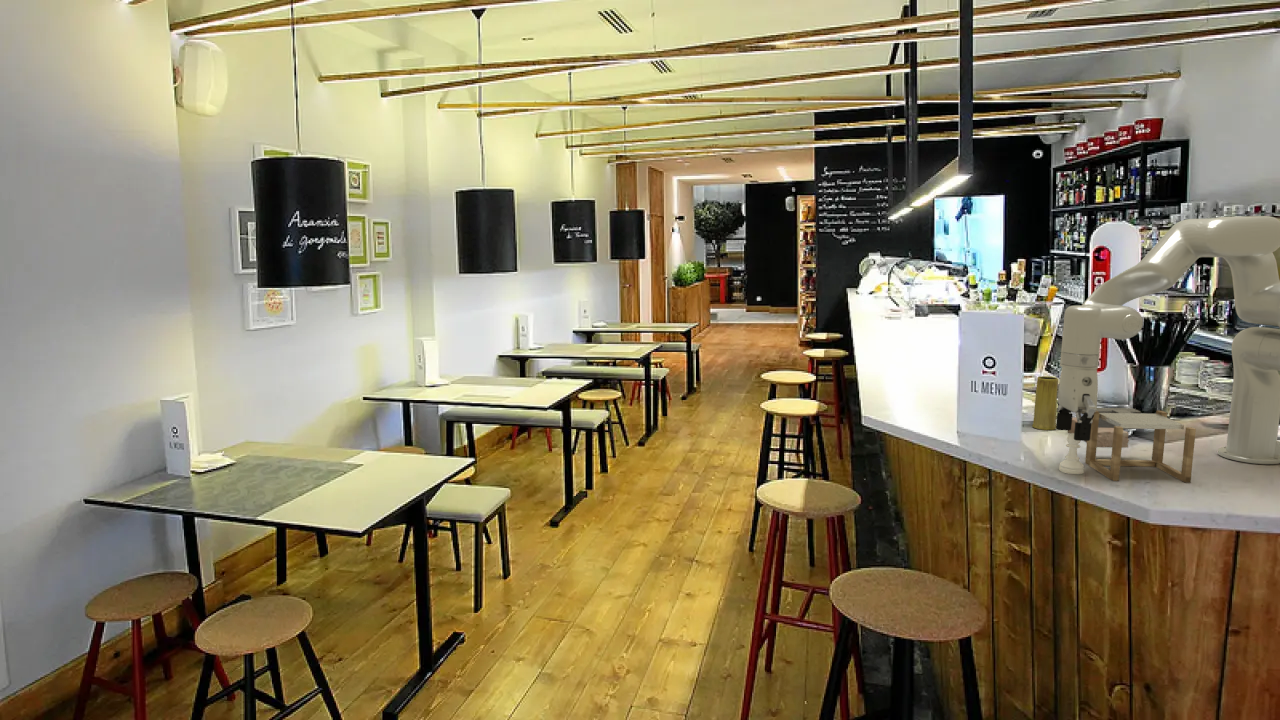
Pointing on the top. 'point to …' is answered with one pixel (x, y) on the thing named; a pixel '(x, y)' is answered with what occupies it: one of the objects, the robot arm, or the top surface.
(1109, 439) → the brick
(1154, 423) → the trapdoor
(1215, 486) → the top surface
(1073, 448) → the chess pawn
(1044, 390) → the vase
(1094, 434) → the frame
